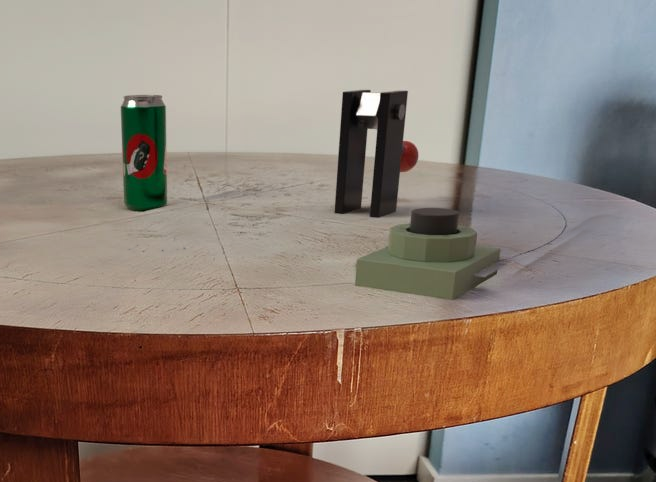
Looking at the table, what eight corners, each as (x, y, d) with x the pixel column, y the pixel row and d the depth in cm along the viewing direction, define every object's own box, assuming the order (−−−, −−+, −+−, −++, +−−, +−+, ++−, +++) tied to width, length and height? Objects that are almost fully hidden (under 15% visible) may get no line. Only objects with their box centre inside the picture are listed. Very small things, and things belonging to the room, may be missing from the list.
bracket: (336, 213, 101) (345, 88, 95) (430, 223, 95) (446, 90, 89) (297, 226, 94) (304, 92, 88) (395, 237, 89) (409, 94, 83)
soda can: (175, 208, 105) (173, 95, 99) (136, 212, 102) (133, 97, 97) (154, 203, 109) (152, 94, 103) (116, 206, 106) (112, 95, 101)
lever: (389, 176, 100) (398, 148, 100) (416, 178, 99) (425, 150, 99) (349, 119, 89) (359, 87, 89) (379, 120, 88) (389, 88, 88)
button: (463, 233, 71) (466, 210, 70) (446, 240, 69) (449, 217, 68) (419, 228, 73) (422, 206, 72) (401, 235, 70) (404, 212, 70)
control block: (496, 275, 74) (504, 225, 72) (452, 301, 67) (459, 246, 65) (405, 263, 78) (410, 216, 76) (354, 286, 71) (358, 235, 69)
